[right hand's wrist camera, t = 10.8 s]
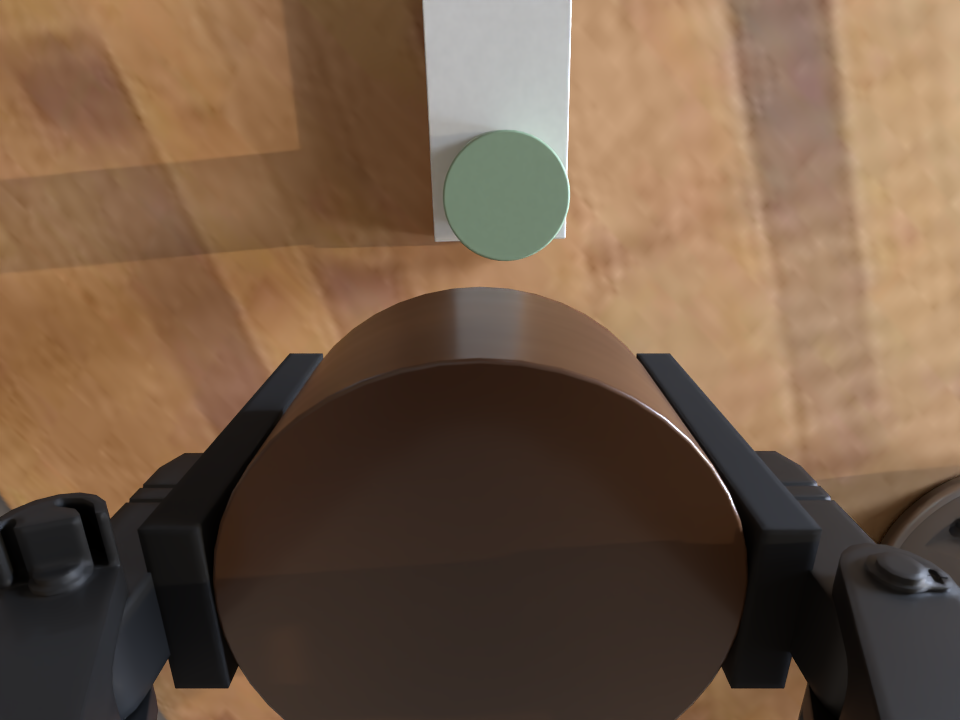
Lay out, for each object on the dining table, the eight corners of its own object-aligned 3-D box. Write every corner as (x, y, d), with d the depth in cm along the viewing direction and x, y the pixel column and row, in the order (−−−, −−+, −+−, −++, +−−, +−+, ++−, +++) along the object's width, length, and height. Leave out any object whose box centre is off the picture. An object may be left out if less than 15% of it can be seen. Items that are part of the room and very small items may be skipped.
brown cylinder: (693, 285, 10) (796, 359, 7) (650, 619, 13) (710, 789, 9) (266, 285, 10) (163, 360, 7) (309, 620, 13) (250, 790, 9)
